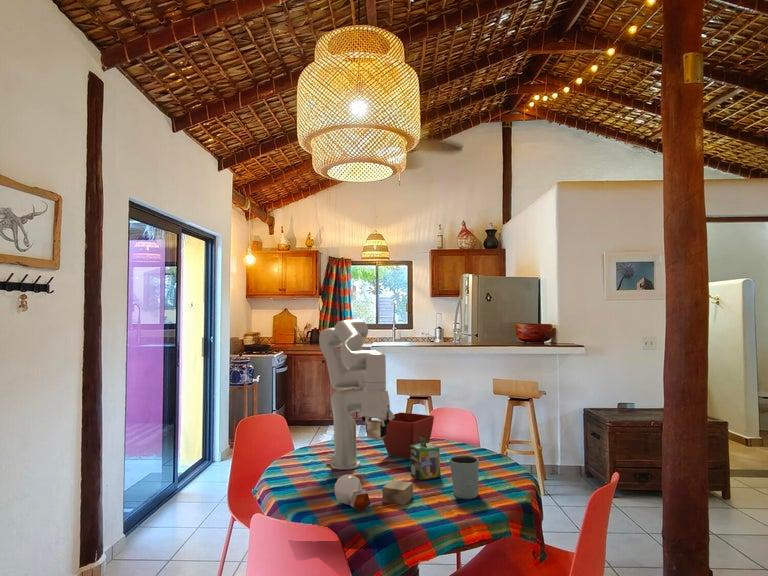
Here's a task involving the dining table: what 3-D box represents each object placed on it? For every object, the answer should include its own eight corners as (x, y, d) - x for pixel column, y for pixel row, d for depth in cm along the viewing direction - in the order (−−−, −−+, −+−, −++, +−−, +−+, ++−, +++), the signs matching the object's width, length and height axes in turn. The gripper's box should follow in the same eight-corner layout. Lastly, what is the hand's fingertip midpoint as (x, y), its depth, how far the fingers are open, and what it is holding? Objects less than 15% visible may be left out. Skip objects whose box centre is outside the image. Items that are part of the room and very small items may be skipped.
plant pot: (401, 447, 235) (400, 411, 236) (435, 452, 224) (434, 415, 225) (377, 456, 219) (377, 418, 220) (413, 463, 208) (412, 423, 209)
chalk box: (441, 477, 189) (440, 438, 189) (419, 480, 185) (418, 441, 186) (430, 470, 197) (429, 433, 198) (409, 473, 194) (409, 436, 195)
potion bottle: (344, 501, 170) (364, 521, 157) (324, 489, 165) (343, 509, 152) (359, 477, 172) (380, 495, 159) (339, 465, 168) (359, 482, 155)
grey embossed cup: (473, 501, 163) (472, 465, 164) (445, 496, 168) (444, 460, 169) (484, 491, 172) (482, 457, 172) (457, 487, 177) (456, 453, 178)
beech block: (367, 438, 178) (367, 421, 178) (373, 434, 183) (373, 418, 183) (379, 439, 176) (379, 422, 176) (385, 436, 181) (385, 419, 181)
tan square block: (382, 502, 165) (382, 487, 165) (392, 494, 172) (391, 479, 172) (404, 505, 161) (403, 490, 162) (413, 497, 169) (412, 482, 169)
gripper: (350, 386, 180) (351, 435, 180) (392, 389, 173) (393, 440, 173) (360, 383, 187) (360, 431, 187) (400, 385, 180) (401, 435, 179)
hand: (376, 435), depth 180 cm, fingers closed on beech block, 5 cm apart
